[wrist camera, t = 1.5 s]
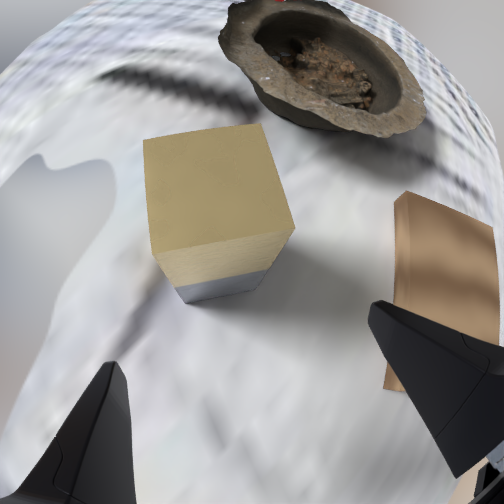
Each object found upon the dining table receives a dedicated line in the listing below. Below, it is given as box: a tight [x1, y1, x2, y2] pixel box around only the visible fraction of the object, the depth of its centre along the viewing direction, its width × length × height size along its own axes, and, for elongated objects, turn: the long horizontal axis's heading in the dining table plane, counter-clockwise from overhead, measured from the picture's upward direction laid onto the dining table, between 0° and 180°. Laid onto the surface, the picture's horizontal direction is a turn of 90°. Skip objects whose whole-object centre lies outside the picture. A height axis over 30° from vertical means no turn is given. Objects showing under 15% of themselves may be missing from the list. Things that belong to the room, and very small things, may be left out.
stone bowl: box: [218, 0, 426, 138], centre depth 27 cm, size 25×25×9 cm
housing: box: [143, 123, 295, 303], centre depth 17 cm, size 6×6×12 cm
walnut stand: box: [383, 191, 500, 391], centre depth 23 cm, size 18×14×2 cm
